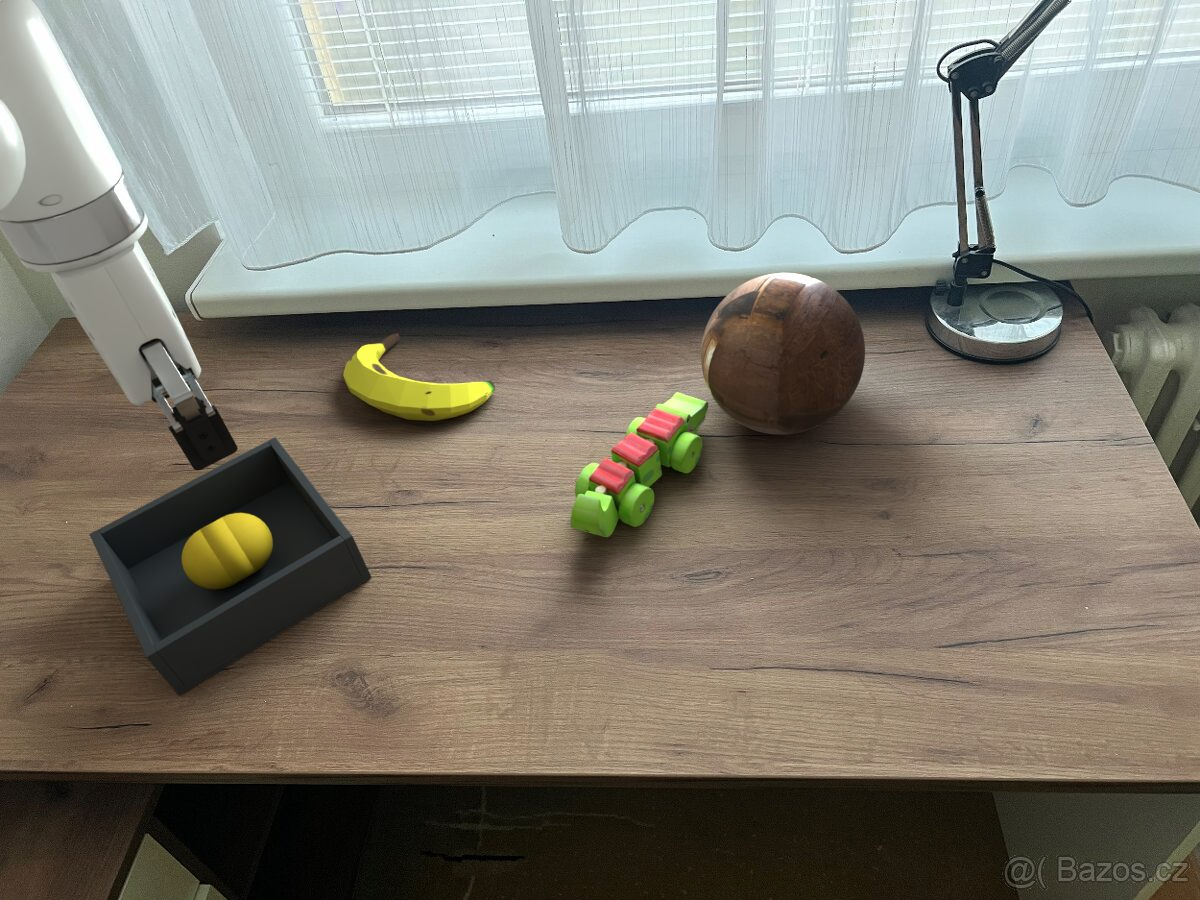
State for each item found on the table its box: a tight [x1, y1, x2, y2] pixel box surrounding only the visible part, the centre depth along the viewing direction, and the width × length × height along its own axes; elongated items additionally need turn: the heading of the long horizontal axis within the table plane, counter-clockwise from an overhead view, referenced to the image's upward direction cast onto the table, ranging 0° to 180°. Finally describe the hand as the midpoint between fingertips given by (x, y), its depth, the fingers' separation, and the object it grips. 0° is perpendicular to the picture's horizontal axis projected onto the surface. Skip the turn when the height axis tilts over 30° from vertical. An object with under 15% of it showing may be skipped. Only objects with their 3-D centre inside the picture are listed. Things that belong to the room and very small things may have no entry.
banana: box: [342, 332, 496, 422], centre depth 95 cm, size 5×17×15 cm
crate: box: [89, 436, 372, 697], centre depth 77 cm, size 18×17×6 cm
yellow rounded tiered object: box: [182, 513, 273, 590], centre depth 76 cm, size 8×6×6 cm
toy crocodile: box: [570, 391, 709, 538], centre depth 80 cm, size 20×7×6 cm, turn 142°
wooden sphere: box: [700, 272, 866, 436], centre depth 82 cm, size 15×15×15 cm
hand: (194, 424), depth 64 cm, fingers open, 9 cm apart
